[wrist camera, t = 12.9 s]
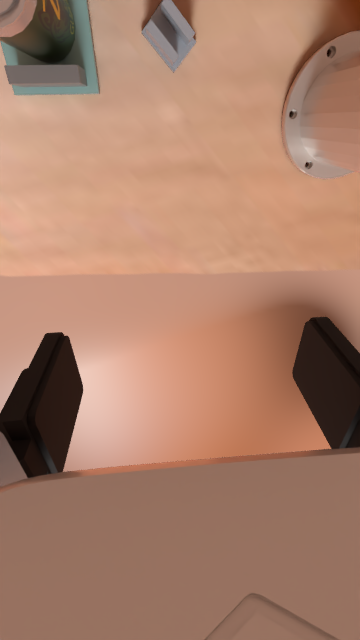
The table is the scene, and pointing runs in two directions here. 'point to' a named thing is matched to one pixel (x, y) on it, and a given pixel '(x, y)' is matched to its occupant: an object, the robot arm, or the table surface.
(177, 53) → the clip
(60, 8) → the beer can
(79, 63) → the end holder
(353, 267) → the table surface
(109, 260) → the table surface
